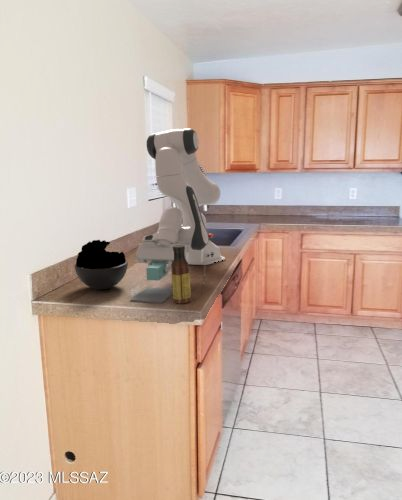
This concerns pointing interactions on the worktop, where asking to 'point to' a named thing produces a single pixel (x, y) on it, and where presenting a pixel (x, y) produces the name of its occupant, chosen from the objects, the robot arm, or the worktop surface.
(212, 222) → the worktop surface
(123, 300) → the worktop surface
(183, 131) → the robot arm
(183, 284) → the sauce bottle
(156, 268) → the teal block
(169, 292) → the rubber mat
